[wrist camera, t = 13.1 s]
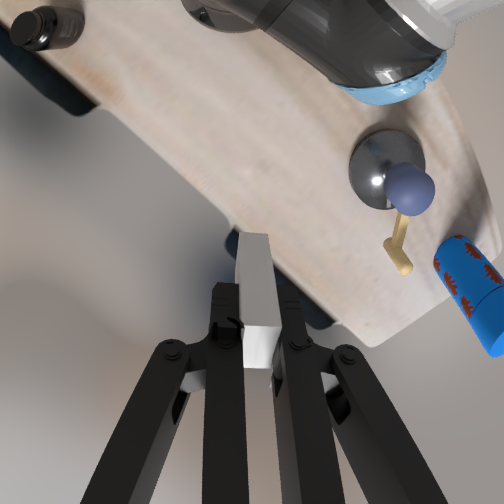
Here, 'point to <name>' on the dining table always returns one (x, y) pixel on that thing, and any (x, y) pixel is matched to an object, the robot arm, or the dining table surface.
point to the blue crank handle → (406, 206)
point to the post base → (381, 164)
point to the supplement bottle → (47, 28)
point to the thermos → (474, 290)
